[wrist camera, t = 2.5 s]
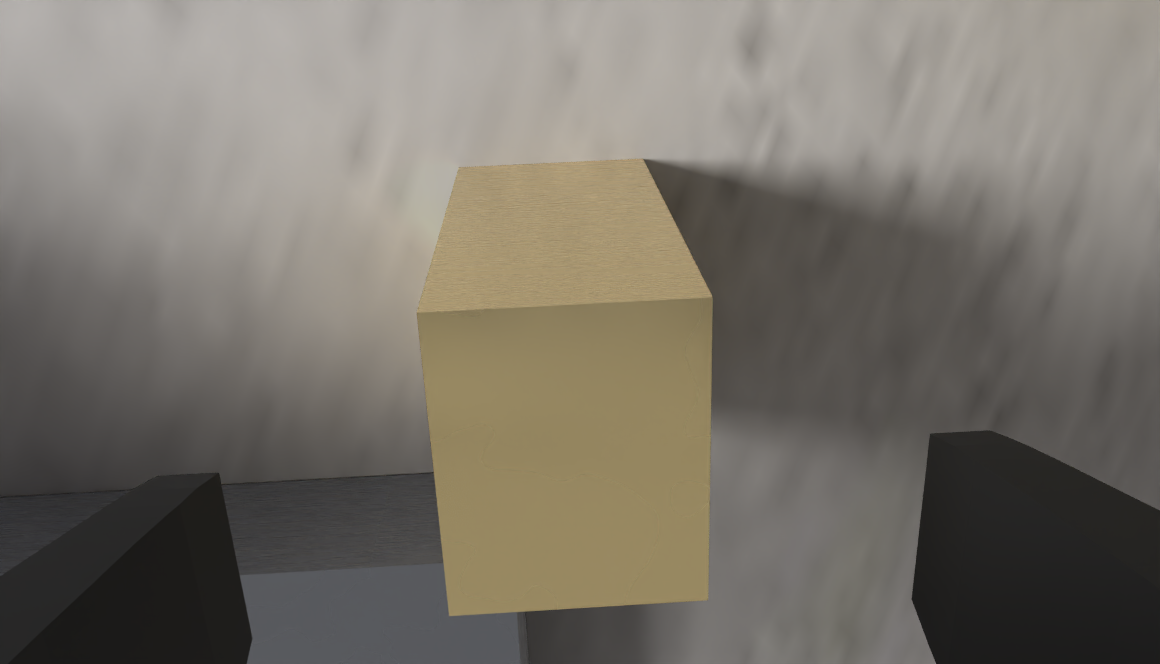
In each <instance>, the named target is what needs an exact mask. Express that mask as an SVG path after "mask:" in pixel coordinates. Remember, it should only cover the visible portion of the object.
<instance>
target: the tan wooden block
mask: <svg viewBox="0 0 1160 664" xmlns="http://www.w3.org/2000/svg"><path fill="white" fill-rule="evenodd" d="M712 318H713V297H712V295H711V293H710V291H709V289H708V287H707V285H706V283H705V281H704V279H703V277H702V275H701V273H700V271H699V269H698V267H697V265H696V263H695V261H694V259H693V257H692V255H691V253H690V251H689V249H688V247H687V245H686V243H685V241H684V239H683V237H682V235H681V233H680V231H679V229H678V227H677V225H676V223H675V221H674V219H673V217H672V215H671V213H670V211H669V209H668V207H667V206H666V204H665V202H664V200H663V198H662V196H661V194H660V192H659V190H658V188H657V186H656V184H655V182H654V180H653V178H652V176H651V174H650V172H649V170H648V168H647V166H646V164H645V162H644V160H643V159H627V160H606V161H584V162H563V163H542V164H521V165H500V166H479V167H459V169H458V172H457V176H456V179H455V183H454V186H453V189H452V193H451V196H450V200H449V203H448V207H447V210H446V214H445V217H444V220H443V224H442V227H441V231H440V234H439V238H438V241H437V245H436V248H435V251H434V255H433V258H432V262H431V265H430V269H429V272H428V276H427V279H426V282H425V286H424V289H423V293H422V296H421V300H420V303H419V307H418V310H417V320H418V329H419V339H420V348H421V357H422V367H423V376H424V385H425V395H426V404H427V413H428V423H429V432H430V441H431V451H432V460H433V470H434V479H435V488H436V498H437V507H438V516H439V526H440V535H441V544H442V554H443V563H444V572H445V582H446V591H447V600H448V610H449V616H460V615H476V614H492V613H509V612H525V611H541V610H557V609H573V608H590V607H606V606H622V605H638V604H655V603H671V602H687V601H703V600H708V577H709V513H710V448H711V383H712Z"/></svg>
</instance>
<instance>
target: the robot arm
mask: <svg viewBox="0 0 1160 664" xmlns="http://www.w3.org/2000/svg"><path fill="white" fill-rule="evenodd" d="M912 601H913V604H914V607H915V609H916V612H917V615H918V617H919V620H920V623H921V625H922V628H923V631H924V633H925V636H926V639H927V641H928V644H929V647H930V649H931V652H932V654H933V657H934V659H935V661H936V664H1160V511H1159V510H1157V509H1155V508H1153V507H1151V506H1149V505H1147V504H1145V503H1143V502H1141V501H1139V500H1137V499H1135V498H1133V497H1131V496H1129V495H1127V494H1125V493H1123V492H1121V491H1119V490H1117V489H1115V488H1113V487H1111V486H1109V485H1107V484H1105V483H1103V482H1101V481H1099V480H1097V479H1095V478H1093V477H1091V476H1089V475H1087V474H1085V473H1083V472H1081V471H1079V470H1077V469H1075V468H1073V467H1071V466H1069V465H1067V464H1065V463H1063V462H1061V461H1059V460H1056V459H1054V458H1052V457H1050V456H1048V455H1046V454H1044V453H1042V452H1040V451H1038V450H1036V449H1033V448H1031V447H1029V446H1027V445H1025V444H1022V443H1020V442H1018V441H1015V440H1013V439H1011V438H1008V437H1006V436H1003V435H1000V434H998V433H995V432H992V431H971V432H953V433H935V434H930V440H929V449H928V458H927V467H926V476H925V485H924V494H923V502H922V511H921V520H920V529H919V538H918V547H917V556H916V565H915V574H914V583H913V592H912ZM252 639H253V638H252V633H251V628H250V623H249V618H248V613H247V608H246V604H245V599H244V594H243V589H242V584H241V579H240V574H239V569H238V564H237V559H236V555H235V550H234V545H233V540H232V535H231V530H230V525H229V520H228V515H227V510H226V505H225V501H224V496H223V491H222V486H221V481H220V476H219V473H206V474H187V475H169V476H157V477H155V478H153V479H151V480H149V481H147V482H145V483H144V484H142V485H140V486H138V487H136V488H135V489H133V490H131V491H130V492H128V493H126V494H125V495H123V496H121V497H120V498H118V499H117V500H115V501H114V502H112V503H110V504H109V505H107V506H106V507H104V508H103V509H101V510H100V511H98V512H97V513H95V514H93V515H92V516H90V517H89V518H87V519H86V520H84V521H83V522H81V523H80V524H78V525H77V526H75V527H74V528H72V529H71V530H69V531H68V532H66V533H65V534H63V535H62V536H60V537H59V538H57V539H56V540H54V541H53V542H51V543H50V544H48V545H47V546H45V547H44V548H42V549H41V550H39V551H38V552H36V553H35V554H33V555H32V556H30V557H29V558H27V559H26V560H24V561H22V562H21V563H19V564H18V565H16V566H15V567H13V568H12V569H10V570H9V571H7V572H6V573H4V574H3V575H1V576H0V664H247V660H248V656H249V651H250V647H251V643H252Z"/></svg>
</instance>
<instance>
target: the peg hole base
mask: <svg viewBox="0 0 1160 664" xmlns="http://www.w3.org/2000/svg"><path fill="white" fill-rule="evenodd" d="M221 486H222V491H223V496H224V501H225V505H226V510H227V515H228V520H229V525H230V530H231V535H232V540H233V545H234V550H235V555H236V559H237V564H238V569H239V574H240V579H241V584H242V589H243V594H244V599H245V604H246V608H247V613H248V618H249V623H250V628H251V633H252V638H253V639H252V643H251V647H250V651H249V656H248V660H247V664H529V656H528V642H527V628H526V614H525V612H509V613H492V614H476V615H460V616H449V610H448V600H447V591H446V582H445V572H444V563H443V554H442V544H441V535H440V526H439V516H438V507H437V498H436V488H435V479H434V473H427V474H410V475H392V476H374V477H357V478H339V479H321V480H304V481H286V482H269V483H251V484H233V485H221ZM130 491H131V490H127V491H110V492H92V493H74V494H57V495H39V496H21V497H4V498H0V576H1V575H3V574H4V573H6V572H7V571H9V570H10V569H12V568H13V567H15V566H16V565H18V564H19V563H21V562H22V561H24V560H26V559H27V558H29V557H30V556H32V555H33V554H35V553H36V552H38V551H39V550H41V549H42V548H44V547H45V546H47V545H48V544H50V543H51V542H53V541H54V540H56V539H57V538H59V537H60V536H62V535H63V534H65V533H66V532H68V531H69V530H71V529H72V528H74V527H75V526H77V525H78V524H80V523H81V522H83V521H84V520H86V519H87V518H89V517H90V516H92V515H93V514H95V513H97V512H98V511H100V510H101V509H103V508H104V507H106V506H107V505H109V504H110V503H112V502H114V501H115V500H117V499H118V498H120V497H121V496H123V495H125V494H126V493H128V492H130Z"/></svg>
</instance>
